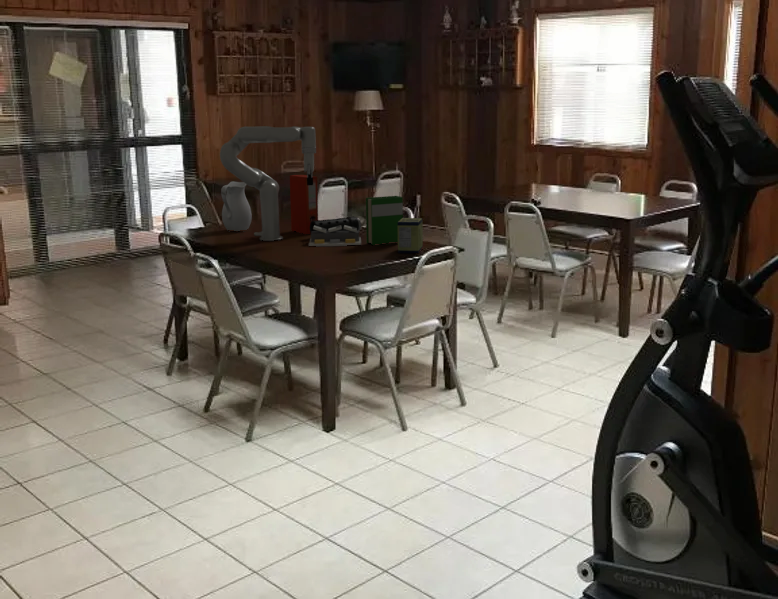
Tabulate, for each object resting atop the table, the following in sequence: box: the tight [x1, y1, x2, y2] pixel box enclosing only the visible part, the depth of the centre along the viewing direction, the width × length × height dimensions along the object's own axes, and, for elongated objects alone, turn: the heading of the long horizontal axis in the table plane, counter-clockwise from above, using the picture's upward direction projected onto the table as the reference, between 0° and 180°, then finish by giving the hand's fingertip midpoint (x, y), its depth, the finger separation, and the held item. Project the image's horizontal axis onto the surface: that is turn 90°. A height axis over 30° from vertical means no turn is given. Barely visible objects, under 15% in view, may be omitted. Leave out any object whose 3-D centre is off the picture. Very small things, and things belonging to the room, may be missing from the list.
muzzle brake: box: [310, 216, 362, 233], centre depth 465 cm, size 10×28×10 cm, turn 124°
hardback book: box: [365, 195, 404, 246], centre depth 441 cm, size 18×7×24 cm, turn 116°
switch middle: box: [328, 225, 342, 232], centre depth 445 cm, size 7×6×1 cm
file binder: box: [289, 174, 319, 235], centre depth 479 cm, size 8×17×32 cm, turn 36°
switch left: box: [313, 225, 326, 233], centre depth 445 cm, size 7×6×1 cm
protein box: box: [397, 217, 424, 254], centre depth 419 cm, size 10×16×16 cm
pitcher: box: [220, 181, 253, 231], centre depth 485 cm, size 24×17×28 cm
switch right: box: [344, 225, 357, 232], centre depth 446 cm, size 7×6×1 cm
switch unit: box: [308, 230, 362, 247], centre depth 445 cm, size 27×20×6 cm
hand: (310, 185), depth 454 cm, fingers closed
